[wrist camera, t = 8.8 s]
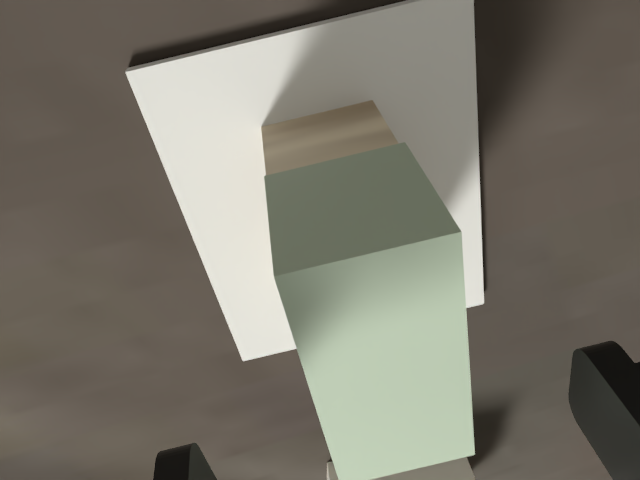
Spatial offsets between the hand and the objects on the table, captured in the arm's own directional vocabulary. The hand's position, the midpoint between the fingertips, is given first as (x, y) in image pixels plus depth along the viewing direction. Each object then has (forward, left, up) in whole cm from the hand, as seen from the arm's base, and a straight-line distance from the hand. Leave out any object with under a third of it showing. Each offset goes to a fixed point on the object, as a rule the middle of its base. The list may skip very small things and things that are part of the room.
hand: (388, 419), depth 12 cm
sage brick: (0, 0, -5) cm, 5 cm away
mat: (0, 0, -9) cm, 9 cm away
